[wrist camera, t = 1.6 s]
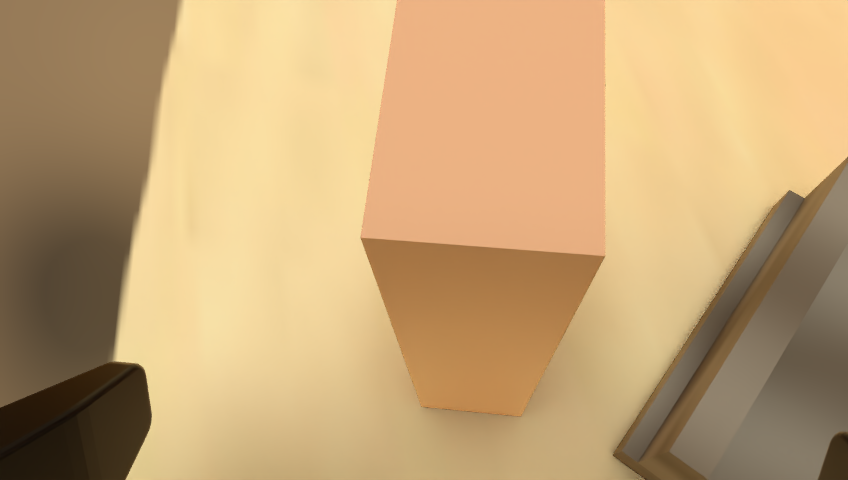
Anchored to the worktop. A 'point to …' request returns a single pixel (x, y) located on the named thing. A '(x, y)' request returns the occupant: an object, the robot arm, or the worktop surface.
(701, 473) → the rack
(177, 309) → the worktop surface
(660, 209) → the worktop surface
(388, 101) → the clay bar
